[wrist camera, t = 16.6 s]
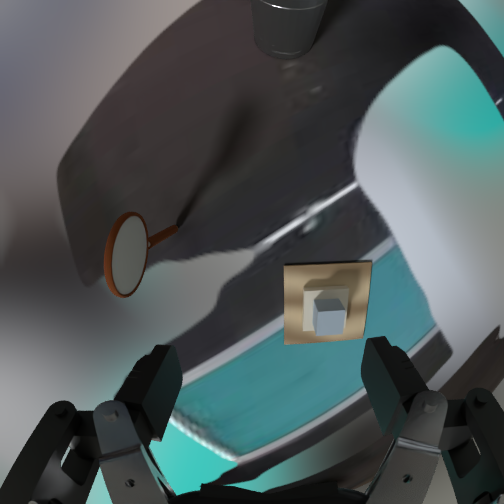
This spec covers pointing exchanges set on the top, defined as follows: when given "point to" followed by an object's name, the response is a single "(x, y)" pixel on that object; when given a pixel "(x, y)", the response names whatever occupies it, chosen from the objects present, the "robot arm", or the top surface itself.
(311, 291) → the tile
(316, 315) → the block
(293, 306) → the cork mat
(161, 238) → the magnifying glass
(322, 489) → the robot arm
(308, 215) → the top surface
